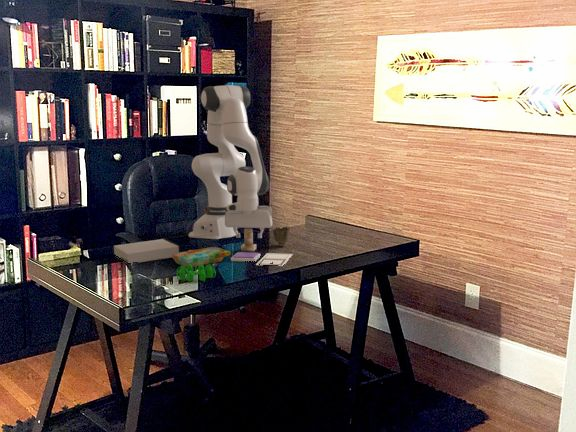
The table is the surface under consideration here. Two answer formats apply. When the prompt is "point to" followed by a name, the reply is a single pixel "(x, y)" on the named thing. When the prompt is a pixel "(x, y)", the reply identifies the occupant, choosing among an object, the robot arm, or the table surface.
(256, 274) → the table surface
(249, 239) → the stamp
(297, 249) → the table surface
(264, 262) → the form
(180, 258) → the multicoloured oblong shape
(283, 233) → the cup
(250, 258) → the ink pad
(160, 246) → the disc drive
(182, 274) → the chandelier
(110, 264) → the table surface
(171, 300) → the table surface
